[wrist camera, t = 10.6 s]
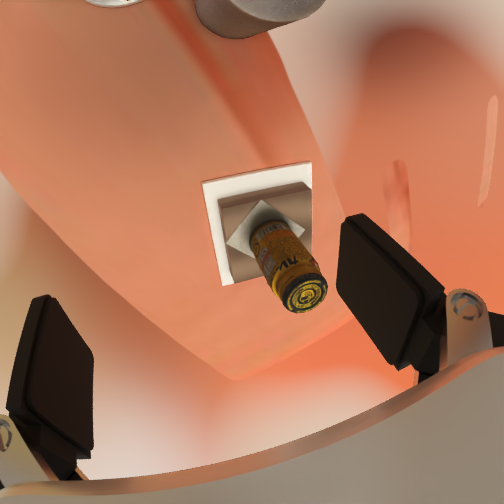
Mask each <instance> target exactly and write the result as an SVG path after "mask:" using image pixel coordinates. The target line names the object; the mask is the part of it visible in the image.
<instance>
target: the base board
mask: <svg viewBox="0 0 504 504" xmlns="http://www.w3.org/2000/svg"><path fill="white" fill-rule="evenodd" d="M297 182H304V183H305V184H306V185H307V186H308V187H309V188H311V189H312V163H311V162H309V161H307V162H301V163H295V164H290V165H284V166H278V167H273V168H267V169H262V170H257V171H252V172H247V173H242V174H237V175H232V176H227V177H223V178H218V179H213V180H209V181H204V182H202V187H203V193H204V198H205V203H206V209H207V214H208V219H209V224H210V229H211V234H212V239H213V244H214V249H215V254H216V259H217V263H218V268H219V273H220V278H221V282H222V286H225V285H229V284H232V283H234V281H233V278H232V276H231V273H230V270H229V265H228V259H227V254H226V248H225V242H224V237H223V231H222V225H221V220H220V214H219V208H218V202H217V199H220V198H225V197H229V196H234V195H238V194H243V193H247V192H252V191H257V190H262V189H266V188H271V187H276V186H281V185H286V184H291V183H297Z"/></svg>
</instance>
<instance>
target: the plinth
mask: <svg viewBox="0 0 504 504" xmlns="http://www.w3.org/2000/svg"><path fill="white" fill-rule="evenodd" d="M260 200H262V201H264V202H265V203H267V204H268V205H270V206H272V207H273V208H274V209H276V210H277V211H279V212H280V213H282V214H283V215H285V216H286V217H288V218H289V219H291V220H292V221H294V222H295V223H296V224H298V225H299V226H301V227H302V228H304V229H305V231H304V232H303V233H302V234H301V235H300V237H299V240H300V241H301V242H302V244H303V245H304V246H305V247H306V249H307V250H308V251H309V253H310V254H311V255H312V189H311V188H309V187H308V186H307V185H306V184H305V183H304V182H297V183H291V184H286V185H281V186H276V187H271V188H266V189H262V190H257V191H252V192H247V193H243V194H238V195H234V196H229V197H225V198H220V199H217V202H218V208H219V214H220V220H221V225H222V231H223V237H224V242H225V248H226V254H227V259H228V265H229V270H230V273H231V276H232V278H233V281H234V283H238V282H242V281H246V280H250V279H253V278H257V277H261V276H264V274H263V273H262V271H261V270H260V268H259V265H258V263H257V261H256V259H255V258H253V257H251V256H249V255H247V254H245V253H243V252H241V251H239V250H237V249H235V248H234V247H231V246H230V245H228V244H226V242H227V241H228V240H229V239H230V237H231V236H232V234H233V233H234V232H235V231H236V230H237V228H238V227H239V225H240V224H241V223H242V222H243V220H244V219H245V218H246V217H247V215H248V214H249V213H250V212H251V211H252V209H253V208H254V207H255V206H256V205H257V204H258V203H259V201H260ZM247 237H248V236H247ZM248 240H249V239H248Z"/></svg>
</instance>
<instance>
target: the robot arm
mask: <svg viewBox="0 0 504 504" xmlns="http://www.w3.org/2000/svg"><path fill="white" fill-rule="evenodd" d="M85 1H86V2H88V3H90V4H92V5H95V6H99V7H106V8H118V7H125V6H130V5H133V4H136V3H139V2H142V1H144V0H130V1H126V0H85ZM336 288H337V292H338V294H339V295H340V297H341V298H342V299H343V301H344V302H345V303H346V305H347V306H348V308H349V309H350V310H351V312H352V313H353V314H354V316H355V317H356V319H357V320H358V321H359V323H360V324H361V325H362V327H363V328H364V330H365V331H366V332H367V334H368V335H369V337H370V338H371V340H372V341H373V342H374V344H375V345H376V347H377V348H378V349H379V351H380V352H381V354H382V355H383V357H384V358H385V360H386V361H387V362H388V363H389V364H390V365H394V366H395V368H396V369H397V370H398V371H399V370H401V369H403V368H405V367H407V366H409V365H410V364H411V365H412V366H413V367H414V369H415V373H414V381H413V387H412V388H410V389H408V390H406V391H404V392H402V393H401V394H399V395H397V396H395V397H393V398H391V399H389V400H387V401H386V402H383V403H382V404H379V405H377V406H375V407H373V408H371V409H369V410H367V411H365V412H363V413H361V414H359V415H356V416H354V417H352V418H350V419H347V420H345V421H343V422H341V423H338V424H336V425H333V426H331V427H329V428H326V429H324V430H321V431H319V432H316V433H313V434H311V435H308V436H305V437H303V438H300V439H297V440H294V441H292V442H289V443H286V444H283V445H280V446H277V447H274V448H271V449H268V450H264V451H261V452H257V453H254V454H250V455H247V456H243V457H239V458H236V459H232V460H228V461H224V462H220V463H215V464H211V465H206V466H201V467H196V468H192V469H186V470H180V471H175V472H169V473H162V474H155V475H148V476H139V477H129V478H117V479H102V480H89V479H88V478H87V477H86V476H85V475H84V474H83V472H82V471H81V470H80V469H79V468H78V467H77V459H91V452H90V450H92V449H93V447H94V440H93V368H94V358H93V354H92V351H91V350H90V348H89V347H88V346H87V344H86V343H85V341H84V340H83V339H82V337H81V336H80V334H79V333H78V331H77V330H76V328H75V327H74V325H73V324H72V323H71V321H70V320H69V318H68V316H67V315H66V313H65V312H64V310H63V309H62V307H61V305H60V304H59V302H58V301H57V299H56V298H52V297H51V296H50V295H43V296H40V297H36V298H34V299H32V301H31V304H30V307H29V311H28V314H27V317H26V320H25V323H24V327H23V330H22V334H21V338H20V342H19V345H18V349H17V353H16V357H15V362H14V366H13V370H12V375H11V380H10V386H9V391H8V397H7V403H6V409H7V410H8V411H9V417H8V416H6V415H1V414H0V504H504V315H501V314H496V313H493V312H488V310H487V307H486V304H485V302H484V301H483V299H482V298H481V297H480V296H478V295H477V294H475V293H474V292H472V291H470V290H467V289H455V290H452V291H451V292H449V294H448V295H446V294H445V293H444V289H445V288H444V286H443V285H441V284H440V283H439V282H438V281H437V280H436V279H435V278H434V277H433V276H432V275H431V274H430V273H429V272H428V271H427V270H426V269H425V268H424V267H423V266H422V265H421V264H420V263H419V262H418V261H417V260H416V259H415V258H413V257H412V256H411V255H410V254H409V253H408V252H407V251H406V250H405V249H404V248H403V247H402V246H400V245H399V244H398V243H397V242H396V241H395V240H394V239H393V238H392V237H390V236H389V235H388V234H387V233H386V232H385V231H384V230H382V229H381V228H380V227H379V226H378V225H377V224H376V223H374V222H373V221H372V220H371V219H370V218H369V217H367V216H366V215H364V214H363V213H361V214H357V215H353V216H349V217H346V219H345V222H343V223H342V224H341V232H340V246H339V258H338V269H337V279H336Z"/></svg>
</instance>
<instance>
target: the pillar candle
mask: <svg viewBox="0 0 504 504" xmlns="http://www.w3.org/2000/svg"><path fill="white" fill-rule="evenodd" d="M324 2H325V0H196V1H195V7H196V12H197V15H198V17H199V18H200V21H201V22H202V24H203V25H204V26H205V27H207V28H208V29H209V30H210V31H212V32H214V33H216V34H218V35H220V36H221V37H225V38H230V39H243V38H248V37H250V36H253V35H256V34H259V33H262V32H265V31H268V30H271V29H274V28H277V27H280V26H283V25H286V24H289V23H292V22H295V21H297V20H300V19H303V18H306V17H308V16H309V15H311V14H312V13H313V12H315V11H316V10H318V9H319V8H320V7H321V6H322V4H323V3H324Z"/></svg>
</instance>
